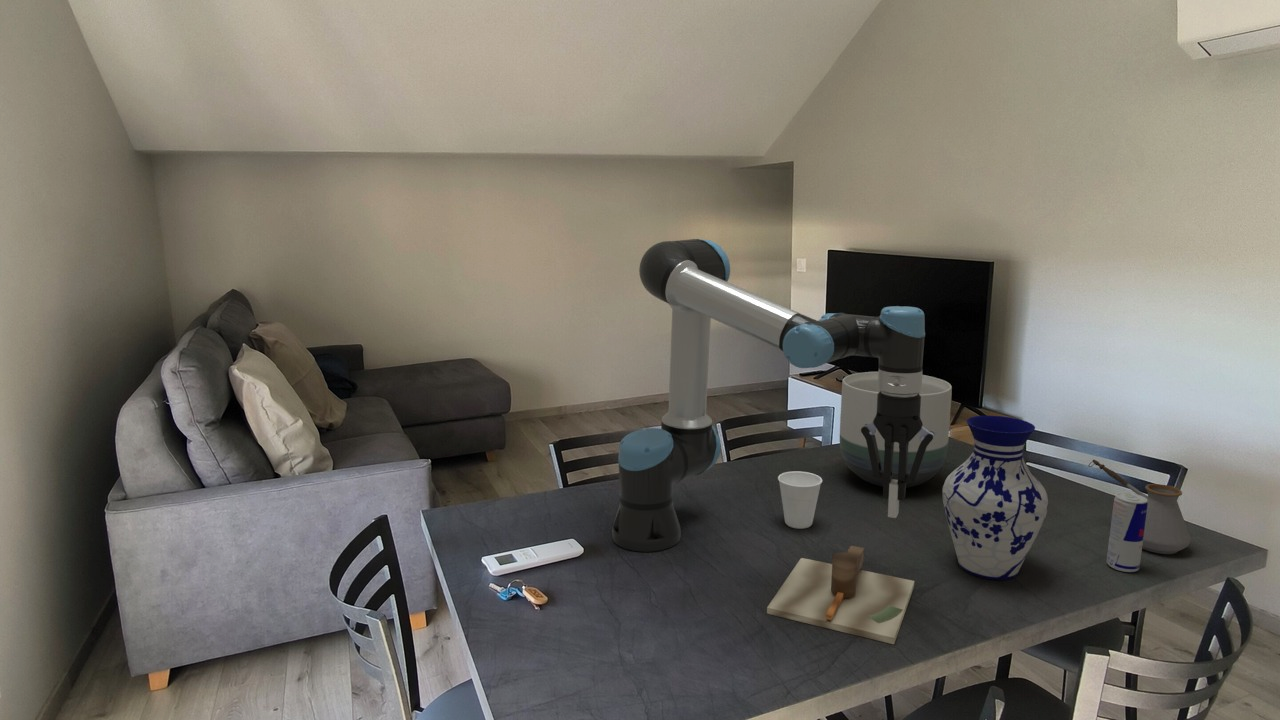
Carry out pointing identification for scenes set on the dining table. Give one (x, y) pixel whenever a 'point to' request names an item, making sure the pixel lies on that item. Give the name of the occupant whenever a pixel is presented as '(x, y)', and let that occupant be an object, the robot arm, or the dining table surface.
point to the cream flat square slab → (844, 601)
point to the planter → (863, 410)
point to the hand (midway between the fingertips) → (893, 514)
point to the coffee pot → (1159, 517)
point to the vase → (994, 500)
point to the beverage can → (1127, 531)
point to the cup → (799, 497)
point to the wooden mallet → (844, 576)
